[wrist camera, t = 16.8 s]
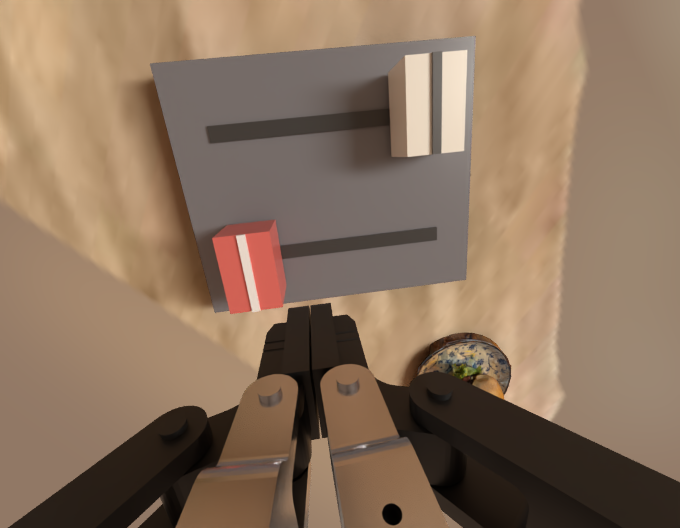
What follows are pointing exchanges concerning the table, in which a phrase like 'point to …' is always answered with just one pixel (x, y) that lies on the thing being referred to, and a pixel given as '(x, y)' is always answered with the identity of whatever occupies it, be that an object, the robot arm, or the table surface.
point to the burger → (470, 362)
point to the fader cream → (428, 103)
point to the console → (317, 167)
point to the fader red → (251, 266)
